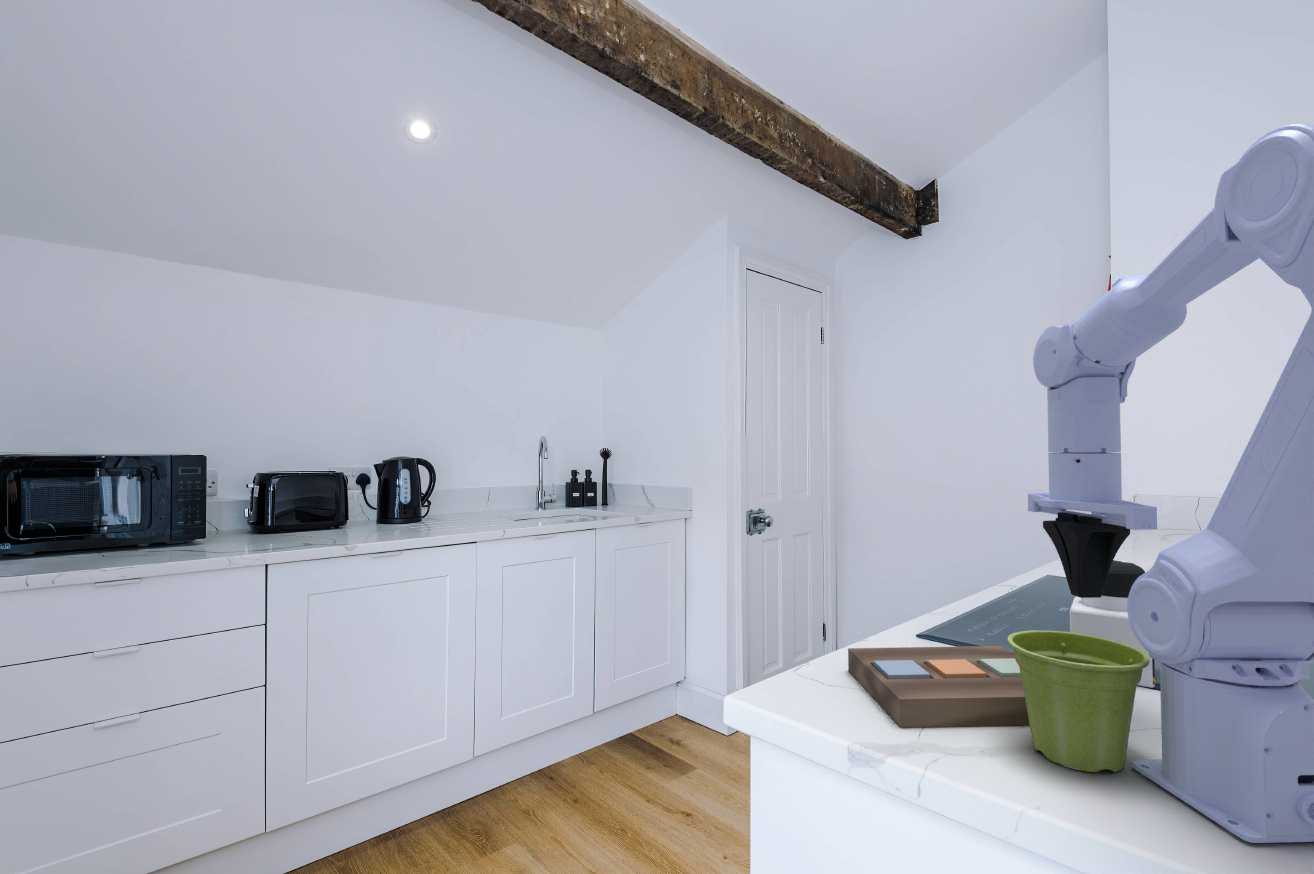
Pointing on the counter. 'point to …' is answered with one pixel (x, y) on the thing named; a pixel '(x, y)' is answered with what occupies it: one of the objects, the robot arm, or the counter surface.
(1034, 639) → the plant pot
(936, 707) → the button panel
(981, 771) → the counter surface
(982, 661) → the button sage
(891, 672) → the button slate
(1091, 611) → the medicine bottle
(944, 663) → the button terracotta
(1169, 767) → the robot arm
